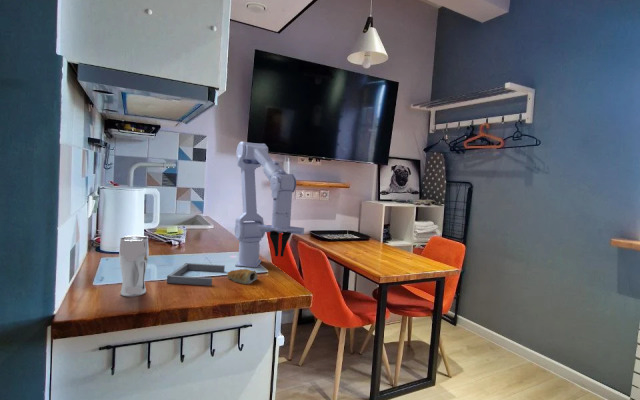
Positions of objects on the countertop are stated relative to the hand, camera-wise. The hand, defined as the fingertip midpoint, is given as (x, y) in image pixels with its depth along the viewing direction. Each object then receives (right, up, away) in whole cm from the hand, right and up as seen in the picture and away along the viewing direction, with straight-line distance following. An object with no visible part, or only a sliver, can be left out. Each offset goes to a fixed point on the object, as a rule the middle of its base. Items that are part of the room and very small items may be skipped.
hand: (279, 255), depth 114 cm
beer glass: (-38, -8, -16) cm, 42 cm away
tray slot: (-25, -7, +1) cm, 26 cm away
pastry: (-12, -8, 0) cm, 14 cm away
